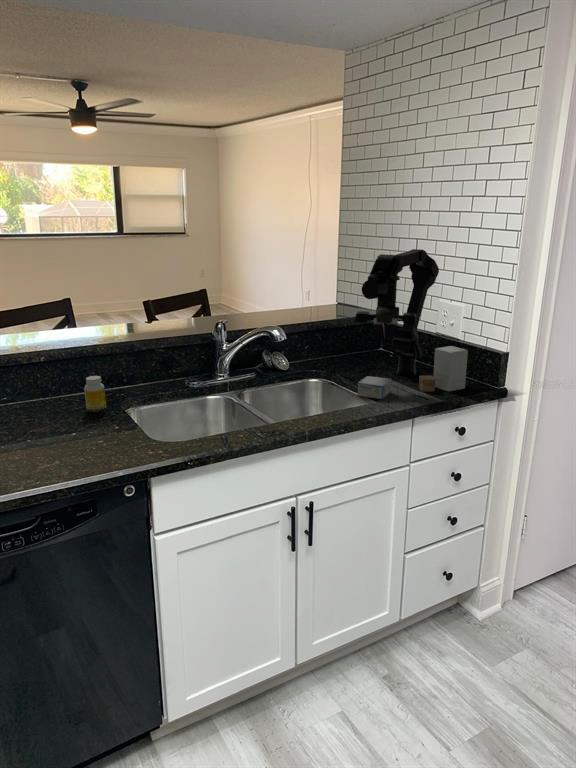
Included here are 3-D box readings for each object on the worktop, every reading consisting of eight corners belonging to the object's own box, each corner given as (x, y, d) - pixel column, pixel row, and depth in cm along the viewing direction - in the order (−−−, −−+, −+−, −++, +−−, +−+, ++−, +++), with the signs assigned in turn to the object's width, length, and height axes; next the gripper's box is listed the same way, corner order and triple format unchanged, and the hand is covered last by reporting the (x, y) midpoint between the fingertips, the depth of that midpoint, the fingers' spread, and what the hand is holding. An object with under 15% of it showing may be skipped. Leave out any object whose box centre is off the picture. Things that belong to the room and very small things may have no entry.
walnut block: (418, 387, 180) (419, 375, 179) (431, 387, 180) (432, 375, 179) (421, 391, 176) (422, 379, 175) (434, 391, 176) (435, 379, 175)
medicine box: (366, 388, 179) (357, 396, 172) (367, 375, 178) (357, 382, 171) (391, 392, 176) (382, 400, 169) (391, 378, 175) (382, 385, 167)
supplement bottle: (85, 408, 162) (81, 376, 159) (104, 405, 164) (101, 374, 162) (88, 414, 157) (85, 381, 155) (108, 411, 160) (105, 378, 157)
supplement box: (465, 388, 179) (469, 349, 176) (448, 392, 176) (451, 352, 172) (449, 382, 186) (452, 345, 182) (431, 386, 182) (434, 347, 178)
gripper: (353, 298, 172) (352, 348, 176) (416, 300, 167) (413, 351, 172) (358, 293, 182) (356, 341, 186) (417, 295, 178) (414, 343, 182)
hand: (384, 344), depth 181 cm, fingers closed
